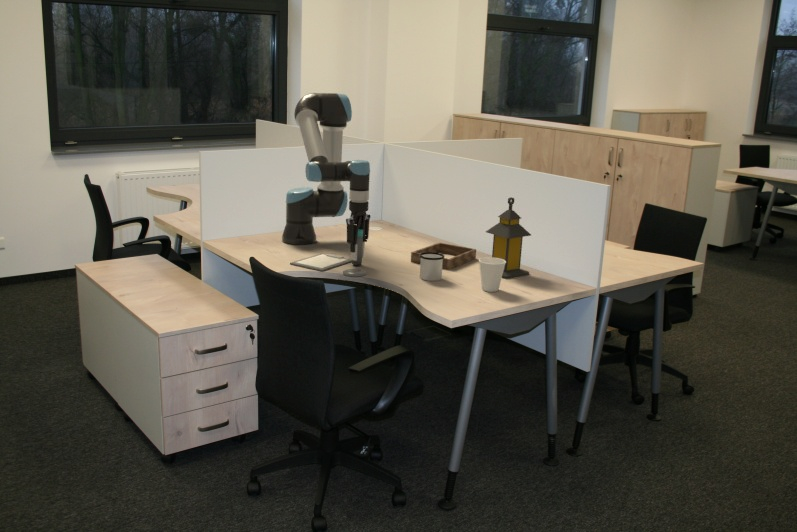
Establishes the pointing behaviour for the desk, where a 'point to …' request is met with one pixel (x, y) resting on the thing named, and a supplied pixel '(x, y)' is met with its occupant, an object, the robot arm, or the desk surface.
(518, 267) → the lantern
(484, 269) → the cup
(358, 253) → the marker
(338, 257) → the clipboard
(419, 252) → the wooden frame
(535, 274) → the desk surface
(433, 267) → the mug
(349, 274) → the coaster
